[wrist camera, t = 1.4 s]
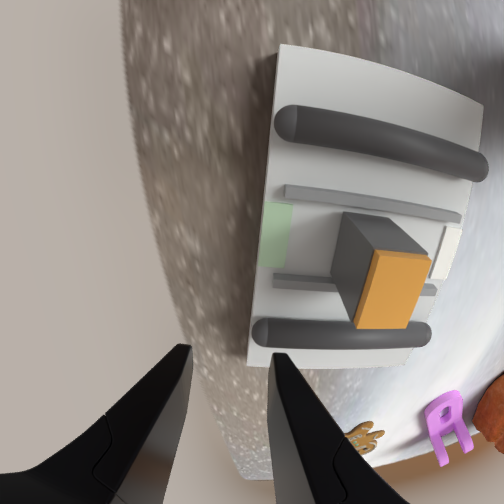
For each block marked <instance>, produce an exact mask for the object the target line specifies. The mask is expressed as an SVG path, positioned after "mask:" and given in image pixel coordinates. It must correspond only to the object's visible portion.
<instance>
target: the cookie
mask: <svg viewBox="0 0 504 504" xmlns="http://www.w3.org/2000/svg"><path fill="white" fill-rule="evenodd" d="M373 424H374V423H373V422H371V421H367V422H364V423H361V424H359V425H358V426H356V427H355V428H354V429H353V430H352V431H350V432H348V433H344V434H345V437H347V438H348V439H349V441H350V442H351V443H352V445H353V446H354V447H355V448H356V450H357V451H358V452H359V454H360V455H364V454H367V453H369V452H371V451H373V450H374V449H375V448H376V446H377V441H376V440H374V439H377V438H380V437H381V436H383V435H384V433H385V431H384V430H380V431H375V432H372V433H368V432H369V430H370V429H371V428H372V427H373ZM367 433H368V434H367ZM345 437H344V438H345Z"/></svg>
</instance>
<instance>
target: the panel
mask: <svg viewBox="0 0 504 504" xmlns="http://www.w3.org/2000/svg"><path fill="white" fill-rule="evenodd" d="M483 108H484V105H482V104H480V103H478V102H476V101H474V100H472V99H470V98H468V97H466V96H464V95H462V94H459V93H457V92H455V91H453V90H451V89H448V88H446V87H444V86H441V85H439V84H436V83H434V82H431V81H429V80H426V79H424V78H421V77H418V76H415V75H413V74H410V73H407V72H404V71H401V70H398V69H395V68H392V67H388V66H385V65H382V64H378V63H375V62H371V61H367V60H364V59H360V58H356V57H352V56H347V55H343V54H338V53H333V52H329V51H323V50H318V49H312V48H306V47H299V46H292V45H285V44H280V46H279V49H278V54H277V64H276V75H275V85H274V96H273V106H272V116H271V126H270V136H269V147H268V157H267V167H266V176H265V186H264V196H263V206H262V216H261V225H260V235H259V244H258V254H257V263H256V273H255V282H254V292H253V301H252V310H251V320H250V329H249V338H248V347H247V366H255V367H270V362H271V357H272V354H273V353H274V352H282V353H287V354H288V355H289V357H290V358H291V360H292V361H293V363H294V364H295V366H296V367H297V368H302V369H345V368H373V367H390V366H403V365H405V364H406V362H407V360H408V358H409V356H410V354H411V352H412V350H413V348H415V347H423V346H425V345H426V344H427V343H428V342H429V341H430V339H431V335H432V332H431V328H430V326H429V325H428V324H426V322H427V320H428V317H429V315H430V313H431V311H432V308H433V306H434V304H435V301H436V299H437V297H438V294H439V292H440V289H441V287H442V284H443V281H444V280H446V278H447V276H448V273H449V270H450V267H451V265H452V262H453V259H454V256H455V253H456V250H457V247H458V244H459V241H460V237H461V234H462V231H463V229H461V228H462V224H463V221H464V217H465V213H466V210H467V206H468V202H469V197H470V193H471V189H472V184H473V182H481V181H483V180H484V179H485V178H486V177H487V175H488V171H489V166H488V162H487V160H486V158H485V157H484V156H483V155H482V154H481V153H479V152H478V151H479V145H480V137H481V129H482V120H483ZM343 211H346V212H354V213H361V214H368V215H375V216H382V217H389V218H390V219H391V220H392V221H393V222H394V223H396V224H397V225H398V226H399V227H400V228H401V229H402V230H404V231H405V232H406V233H407V234H408V235H409V236H410V237H411V238H413V239H414V240H415V241H416V242H417V243H418V244H419V245H420V246H421V247H422V248H423V249H425V250H426V251H427V252H428V257H429V258H430V259H431V260H432V263H431V266H430V269H429V272H428V274H427V277H426V280H425V283H424V285H423V288H422V291H421V293H420V296H419V298H418V301H417V303H416V306H415V308H414V311H413V313H412V315H411V318H410V320H409V322H408V325H407V327H406V329H356V326H355V324H354V323H351V322H350V319H349V317H348V314H347V312H346V309H345V307H344V304H343V302H342V300H341V297H340V295H339V292H338V290H337V288H336V285H335V283H334V281H333V278H332V276H331V274H330V271H331V266H332V262H333V257H334V253H335V248H336V244H337V239H338V234H339V229H340V224H341V219H342V214H343Z"/></svg>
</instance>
